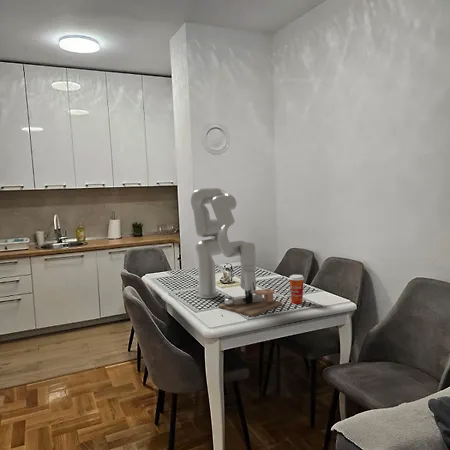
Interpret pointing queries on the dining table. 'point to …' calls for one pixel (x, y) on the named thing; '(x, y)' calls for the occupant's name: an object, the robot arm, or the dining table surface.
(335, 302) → the dining table surface
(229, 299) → the link
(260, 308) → the board
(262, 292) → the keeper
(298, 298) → the paper cup
